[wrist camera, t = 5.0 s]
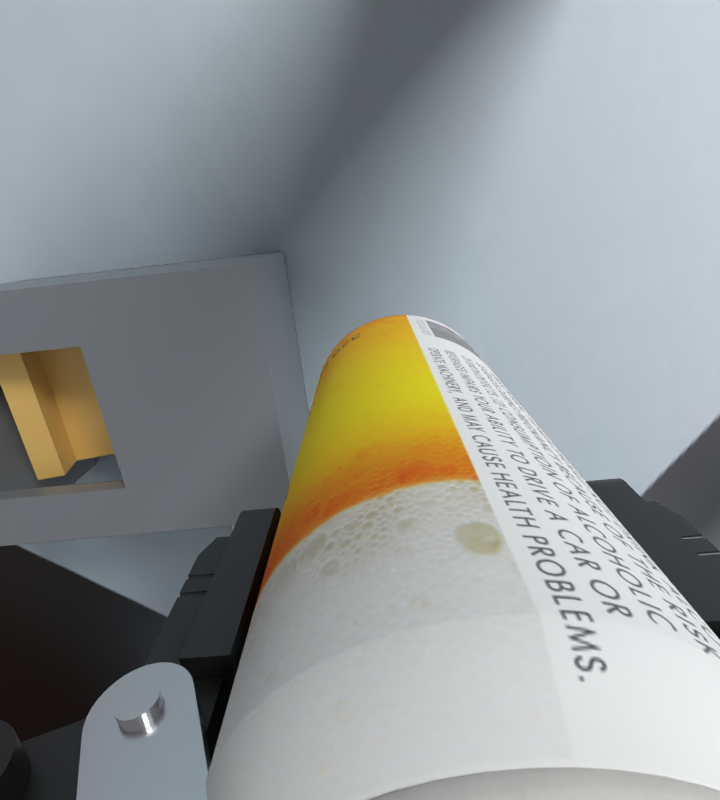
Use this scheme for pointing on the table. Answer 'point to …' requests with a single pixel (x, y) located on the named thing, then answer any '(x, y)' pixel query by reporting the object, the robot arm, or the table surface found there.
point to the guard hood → (162, 396)
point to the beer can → (458, 609)
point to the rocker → (54, 408)
